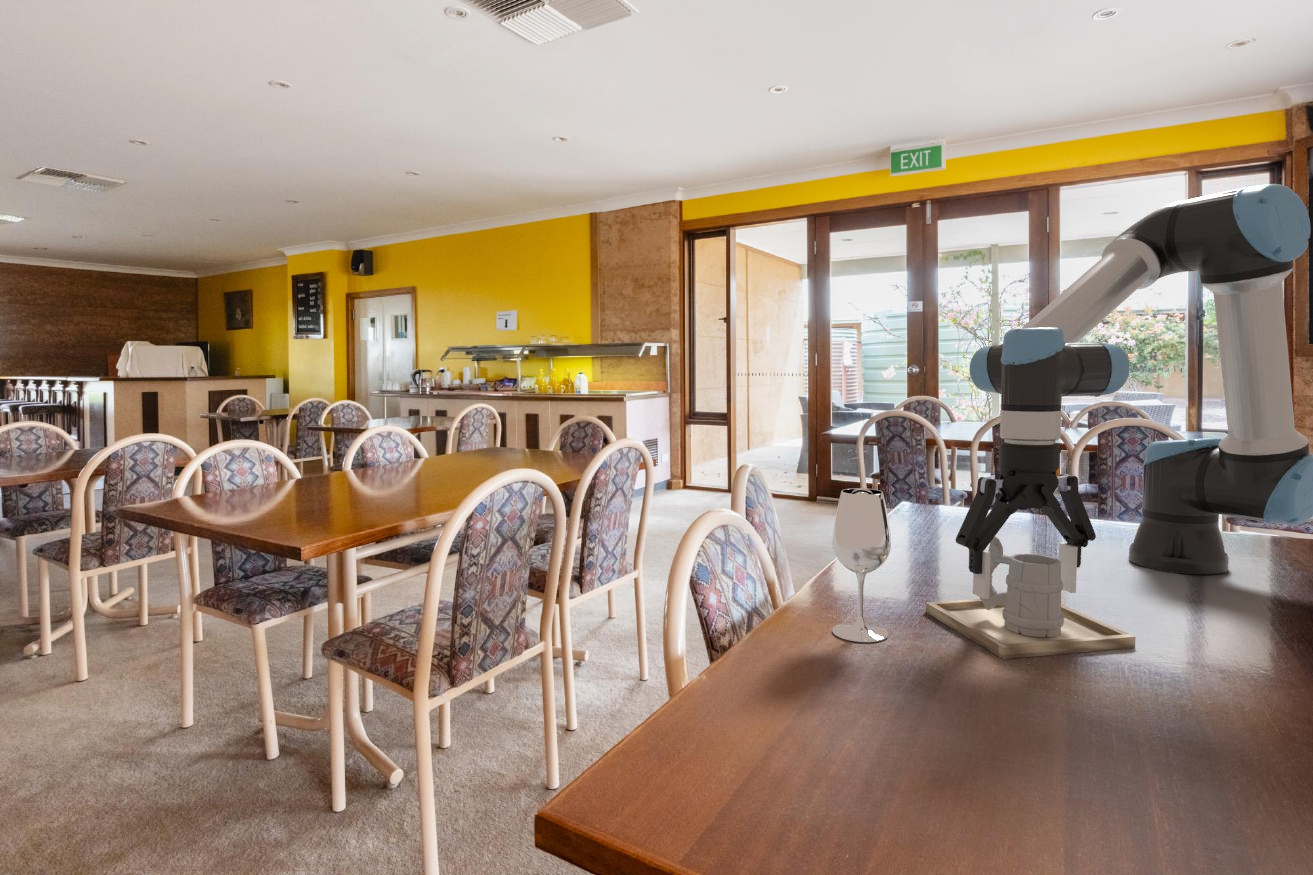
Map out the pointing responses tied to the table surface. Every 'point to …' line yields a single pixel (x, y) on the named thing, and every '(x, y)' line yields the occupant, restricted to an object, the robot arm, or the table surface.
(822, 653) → the table surface
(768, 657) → the table surface
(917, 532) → the table surface
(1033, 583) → the mug
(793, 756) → the table surface
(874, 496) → the wineglass
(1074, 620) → the square serving tray
